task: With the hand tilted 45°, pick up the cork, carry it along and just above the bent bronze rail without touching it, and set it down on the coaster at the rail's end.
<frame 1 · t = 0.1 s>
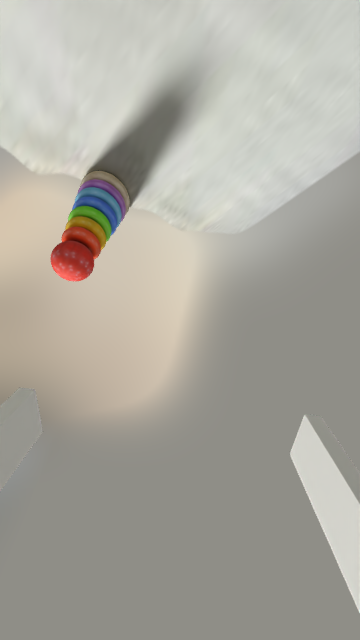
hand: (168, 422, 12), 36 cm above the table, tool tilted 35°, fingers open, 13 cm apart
stacking toy: (107, 193, 39), on the table
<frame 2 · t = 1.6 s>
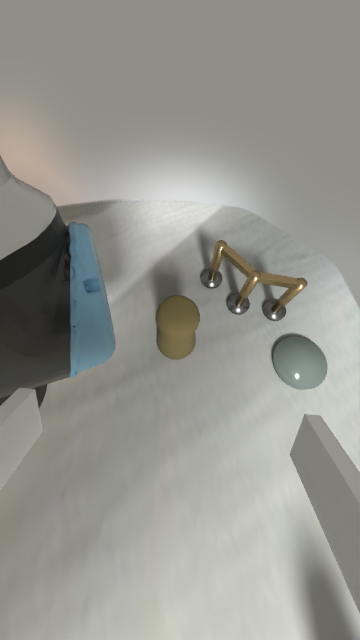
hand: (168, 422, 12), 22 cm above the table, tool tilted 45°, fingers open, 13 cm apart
cork: (176, 340, 36), on the table
coaster: (298, 362, 35), on the table
rail: (237, 304, 39), on the table
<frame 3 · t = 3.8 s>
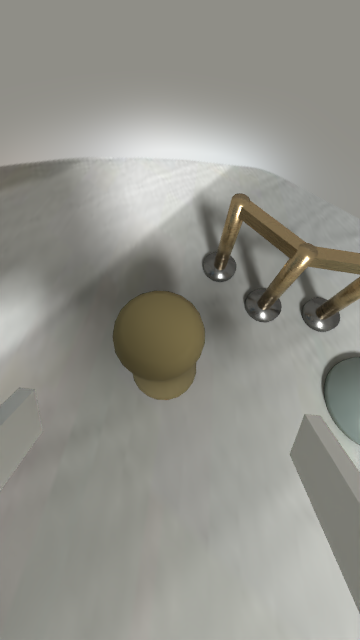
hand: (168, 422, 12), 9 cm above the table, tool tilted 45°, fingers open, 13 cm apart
cork: (164, 366, 22), on the table
rail: (262, 306, 25), on the table
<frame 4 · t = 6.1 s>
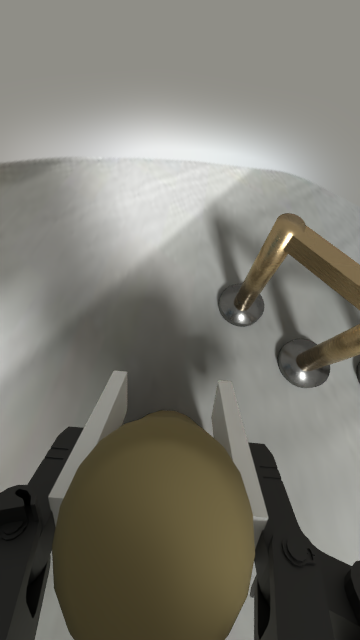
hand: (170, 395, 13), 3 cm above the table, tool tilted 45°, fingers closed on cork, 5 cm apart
cork: (165, 459, 15), on the table, touching gripper
rail: (301, 363, 18), on the table
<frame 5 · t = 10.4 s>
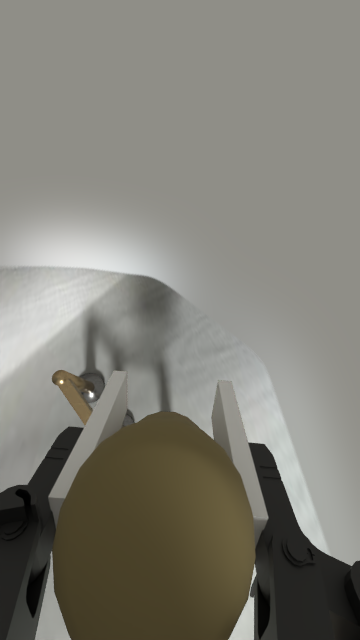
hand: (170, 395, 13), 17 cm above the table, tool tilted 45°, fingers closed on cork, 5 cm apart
cork: (165, 460, 15), point 14 cm above the table, touching gripper
rail: (119, 429, 28), on the table
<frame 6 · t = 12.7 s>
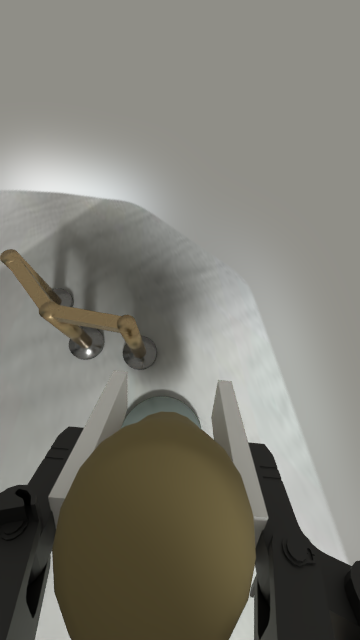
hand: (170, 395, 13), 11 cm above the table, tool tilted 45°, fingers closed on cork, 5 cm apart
cork: (165, 460, 15), point 8 cm above the table, touching gripper
coaster: (161, 440, 23), on the table
rail: (87, 343, 26), on the table
when the fingers open (4 cm above the table, at t = 14.6 s): cork stays where it is, resting on coaster.
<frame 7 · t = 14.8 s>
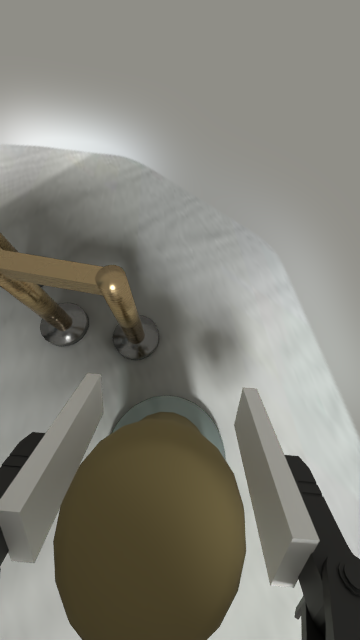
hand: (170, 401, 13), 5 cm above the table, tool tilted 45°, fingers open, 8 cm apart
cork: (164, 460, 15), resting on coaster
coaster: (165, 457, 16), on the table
rail: (66, 325, 19), on the table
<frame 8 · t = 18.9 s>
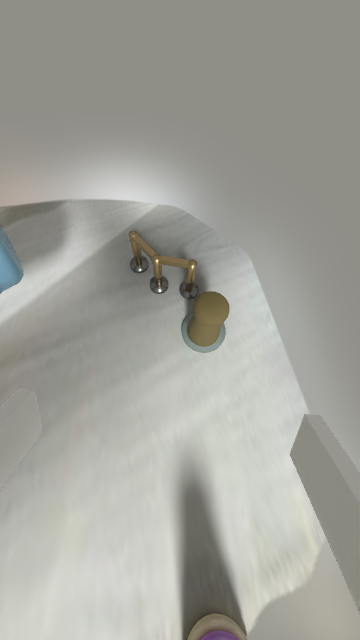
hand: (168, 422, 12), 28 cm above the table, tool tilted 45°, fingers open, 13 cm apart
cork: (203, 331, 43), resting on coaster
coaster: (203, 331, 43), on the table
rail: (159, 285, 46), on the table
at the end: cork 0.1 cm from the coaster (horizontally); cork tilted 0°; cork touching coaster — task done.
